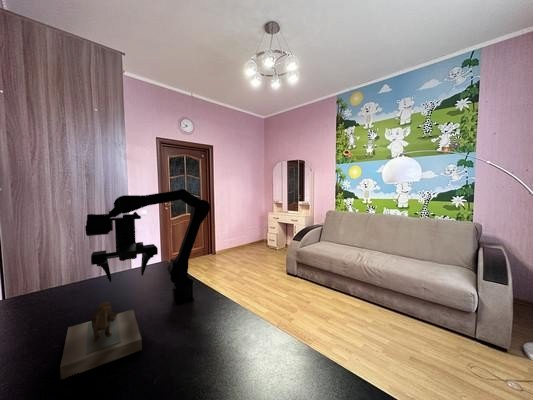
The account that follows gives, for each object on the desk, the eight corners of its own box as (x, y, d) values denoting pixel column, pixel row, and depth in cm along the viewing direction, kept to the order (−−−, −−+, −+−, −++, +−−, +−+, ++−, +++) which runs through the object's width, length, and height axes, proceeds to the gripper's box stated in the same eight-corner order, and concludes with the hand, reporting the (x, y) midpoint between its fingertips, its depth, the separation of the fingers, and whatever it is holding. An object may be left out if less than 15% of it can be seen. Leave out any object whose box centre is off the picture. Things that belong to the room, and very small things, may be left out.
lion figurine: (118, 341, 59) (117, 307, 58) (93, 350, 56) (91, 314, 55) (112, 316, 70) (111, 287, 70) (90, 322, 67) (89, 292, 66)
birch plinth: (133, 318, 75) (133, 308, 75) (141, 349, 60) (141, 338, 60) (68, 337, 65) (68, 326, 65) (60, 380, 51) (60, 366, 51)
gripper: (89, 241, 65) (91, 295, 65) (160, 233, 76) (161, 279, 77) (90, 234, 74) (92, 282, 74) (154, 228, 85) (155, 269, 85)
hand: (126, 278), depth 77 cm, fingers open, 9 cm apart
